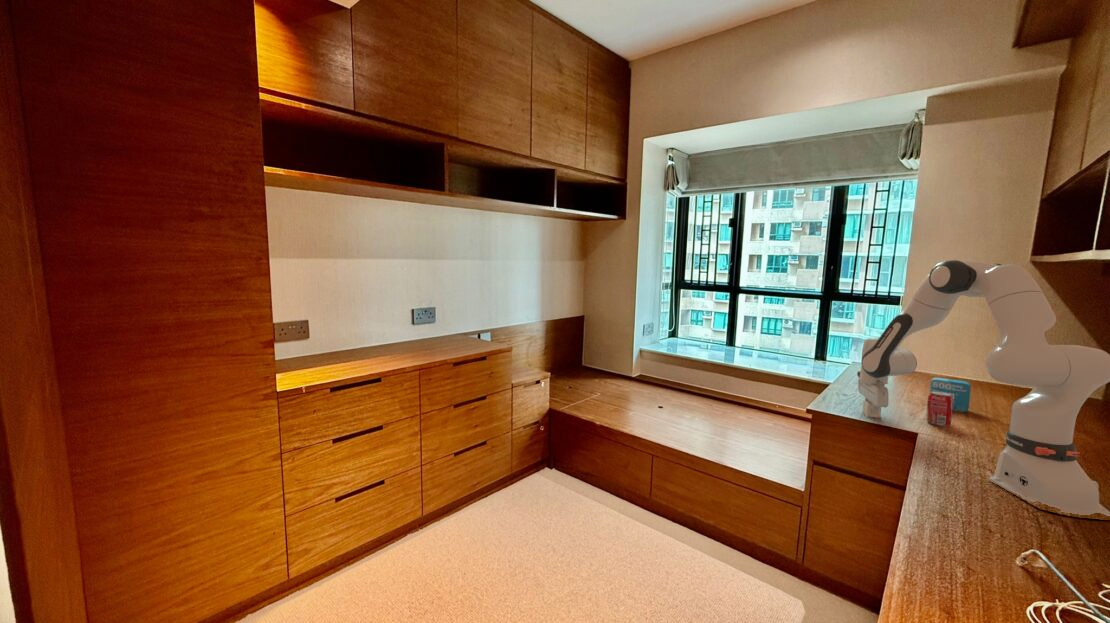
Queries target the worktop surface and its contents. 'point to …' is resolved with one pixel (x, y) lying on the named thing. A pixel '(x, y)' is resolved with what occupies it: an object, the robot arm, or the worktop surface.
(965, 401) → the data package
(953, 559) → the worktop surface
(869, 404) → the cream block
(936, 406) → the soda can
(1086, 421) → the worktop surface
